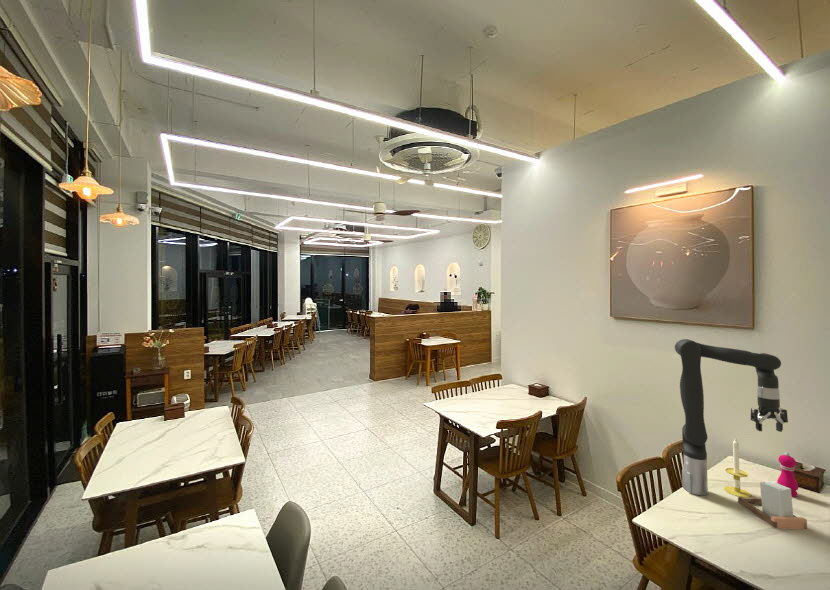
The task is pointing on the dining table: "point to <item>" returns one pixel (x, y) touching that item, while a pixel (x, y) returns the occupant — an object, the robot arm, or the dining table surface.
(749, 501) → the guide channel
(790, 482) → the pepper mill
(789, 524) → the stop block
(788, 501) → the skincare box
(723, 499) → the dining table surface
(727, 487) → the candle
